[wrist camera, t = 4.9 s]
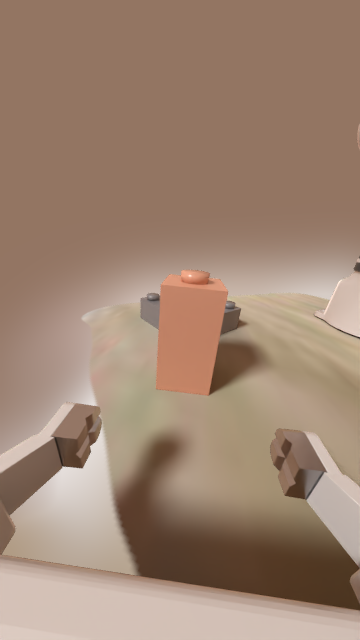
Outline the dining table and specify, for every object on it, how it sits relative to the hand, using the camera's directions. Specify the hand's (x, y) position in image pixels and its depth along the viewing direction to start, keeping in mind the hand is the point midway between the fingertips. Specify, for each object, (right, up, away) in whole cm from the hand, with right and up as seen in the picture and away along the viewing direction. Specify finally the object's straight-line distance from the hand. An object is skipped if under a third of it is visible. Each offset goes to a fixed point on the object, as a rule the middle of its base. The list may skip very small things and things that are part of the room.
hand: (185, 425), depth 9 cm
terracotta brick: (0, -1, +11) cm, 11 cm away
